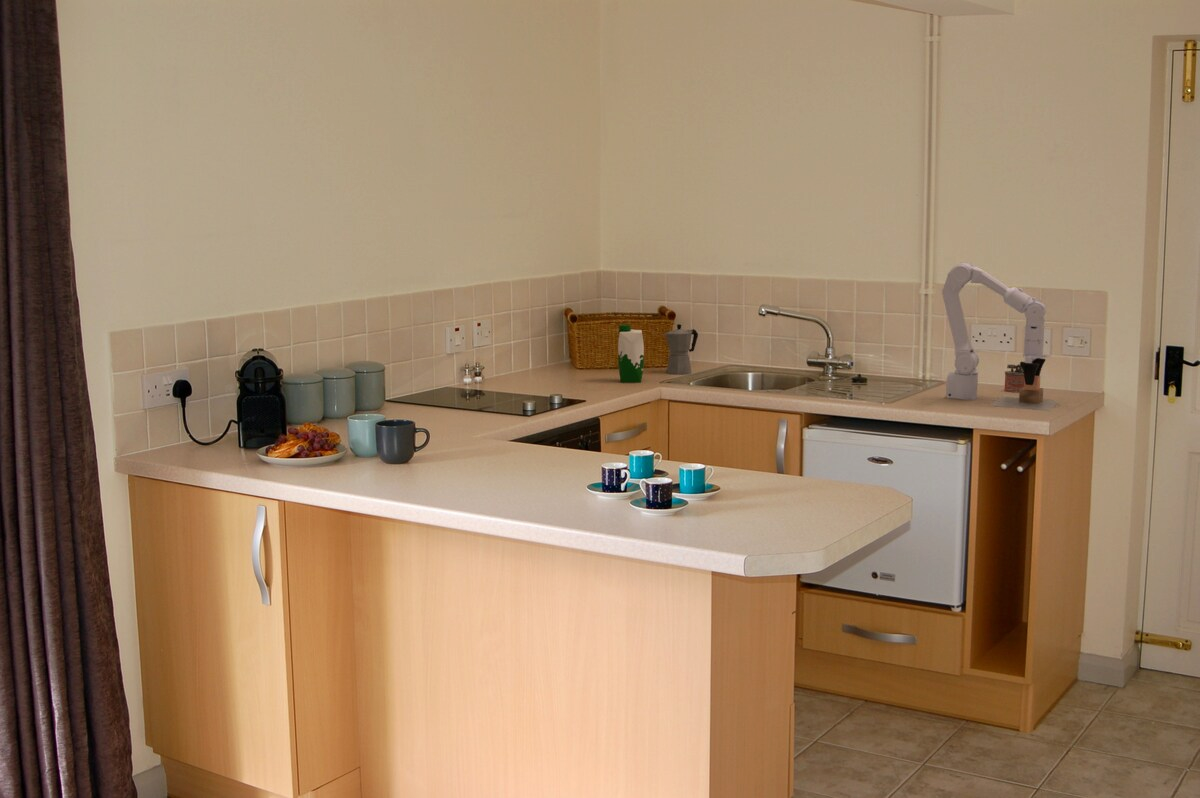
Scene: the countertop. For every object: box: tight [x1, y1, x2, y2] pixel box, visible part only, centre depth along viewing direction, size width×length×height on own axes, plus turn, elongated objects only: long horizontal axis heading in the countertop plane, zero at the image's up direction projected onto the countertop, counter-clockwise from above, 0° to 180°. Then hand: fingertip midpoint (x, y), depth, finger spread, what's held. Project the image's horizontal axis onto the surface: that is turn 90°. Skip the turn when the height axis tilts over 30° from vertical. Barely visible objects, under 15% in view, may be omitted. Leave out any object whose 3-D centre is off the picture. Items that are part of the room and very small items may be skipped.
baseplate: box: [988, 396, 1061, 411], centre depth 401 cm, size 18×18×1 cm
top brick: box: [1024, 375, 1041, 390], centre depth 403 cm, size 4×4×4 cm
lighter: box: [1003, 363, 1024, 393], centre depth 422 cm, size 8×3×10 cm, turn 65°
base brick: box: [1018, 387, 1044, 404], centre depth 403 cm, size 6×6×4 cm
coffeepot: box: [664, 323, 699, 376], centre depth 472 cm, size 15×9×18 cm, turn 125°
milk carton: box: [617, 324, 645, 384], centre depth 453 cm, size 9×9×20 cm
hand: (1031, 383), depth 403 cm, fingers open, 7 cm apart
